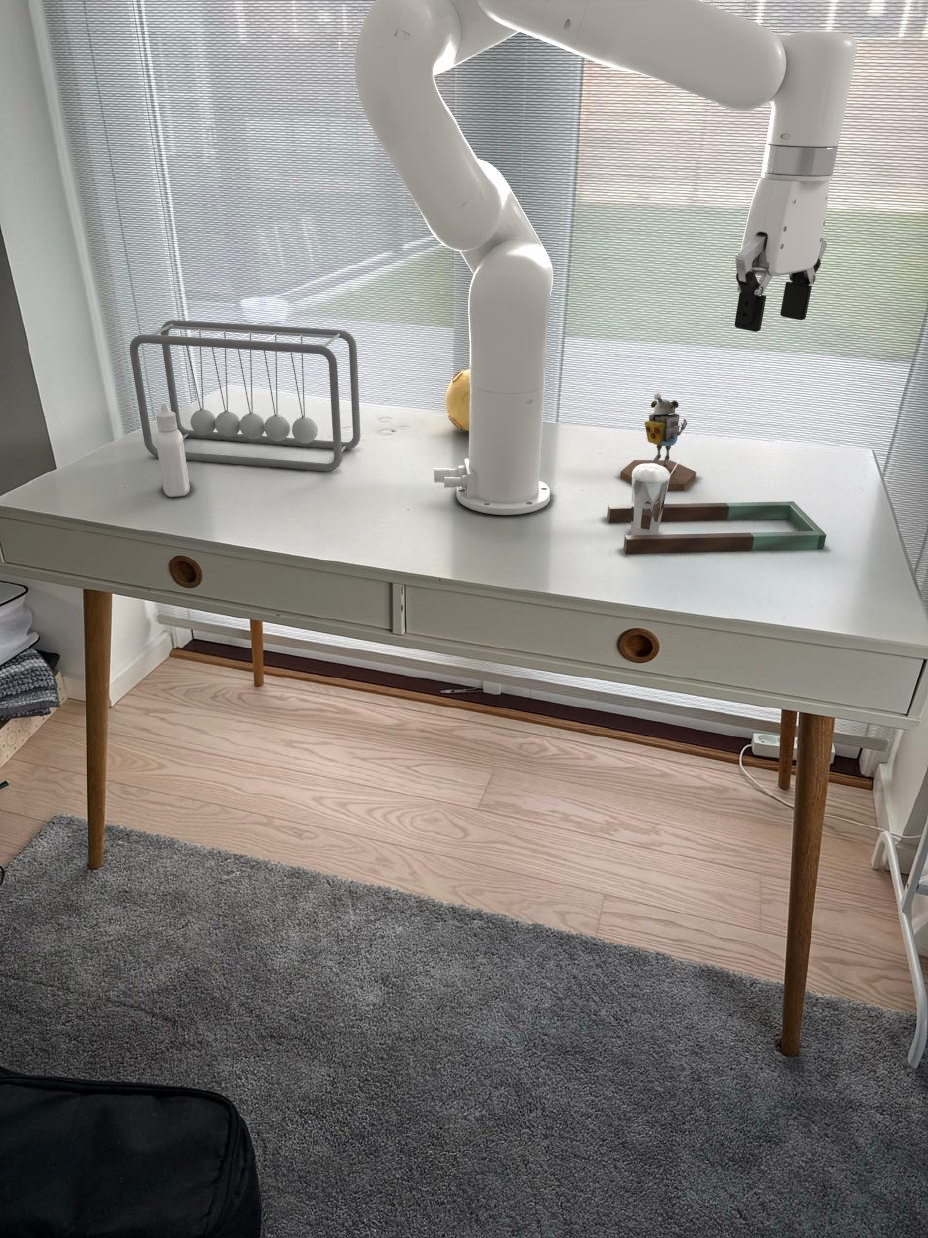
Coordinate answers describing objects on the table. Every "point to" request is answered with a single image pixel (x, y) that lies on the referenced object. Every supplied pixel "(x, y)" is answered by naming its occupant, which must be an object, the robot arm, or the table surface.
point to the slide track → (802, 539)
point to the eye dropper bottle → (171, 454)
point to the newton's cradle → (251, 423)
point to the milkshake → (648, 497)
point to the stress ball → (459, 400)
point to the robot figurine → (664, 444)
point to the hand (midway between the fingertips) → (770, 323)
